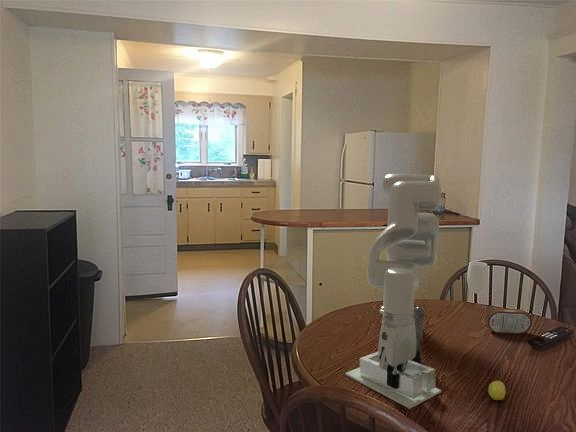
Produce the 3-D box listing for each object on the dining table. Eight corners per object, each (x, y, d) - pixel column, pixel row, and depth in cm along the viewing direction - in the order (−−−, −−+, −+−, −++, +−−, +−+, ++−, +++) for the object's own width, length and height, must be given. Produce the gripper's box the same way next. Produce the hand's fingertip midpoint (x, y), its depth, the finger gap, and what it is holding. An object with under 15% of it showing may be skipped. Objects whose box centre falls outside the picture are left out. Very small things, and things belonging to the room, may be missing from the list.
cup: (484, 314, 182) (487, 262, 179) (485, 320, 175) (489, 266, 172) (464, 312, 184) (467, 260, 181) (464, 318, 177) (468, 264, 174)
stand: (405, 363, 139) (408, 306, 136) (415, 359, 141) (417, 303, 139) (418, 369, 135) (421, 310, 133) (427, 364, 138) (430, 307, 136)
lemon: (507, 392, 123) (508, 378, 122) (503, 406, 116) (504, 392, 115) (490, 388, 125) (491, 374, 124) (485, 401, 118) (486, 387, 117)
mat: (345, 374, 132) (345, 372, 131) (376, 362, 139) (376, 360, 139) (409, 408, 114) (409, 406, 114) (440, 392, 122) (441, 390, 122)
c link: (360, 375, 130) (359, 358, 129) (381, 366, 135) (381, 350, 135) (413, 398, 116) (413, 379, 115) (435, 387, 121) (435, 369, 121)
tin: (528, 332, 164) (530, 308, 163) (532, 335, 161) (534, 312, 160) (484, 330, 166) (485, 307, 164) (486, 333, 163) (488, 310, 161)
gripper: (389, 328, 111) (386, 401, 113) (429, 314, 120) (425, 382, 123) (365, 319, 117) (363, 389, 119) (405, 307, 126) (402, 371, 129)
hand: (395, 385), depth 121 cm, fingers closed on c link
